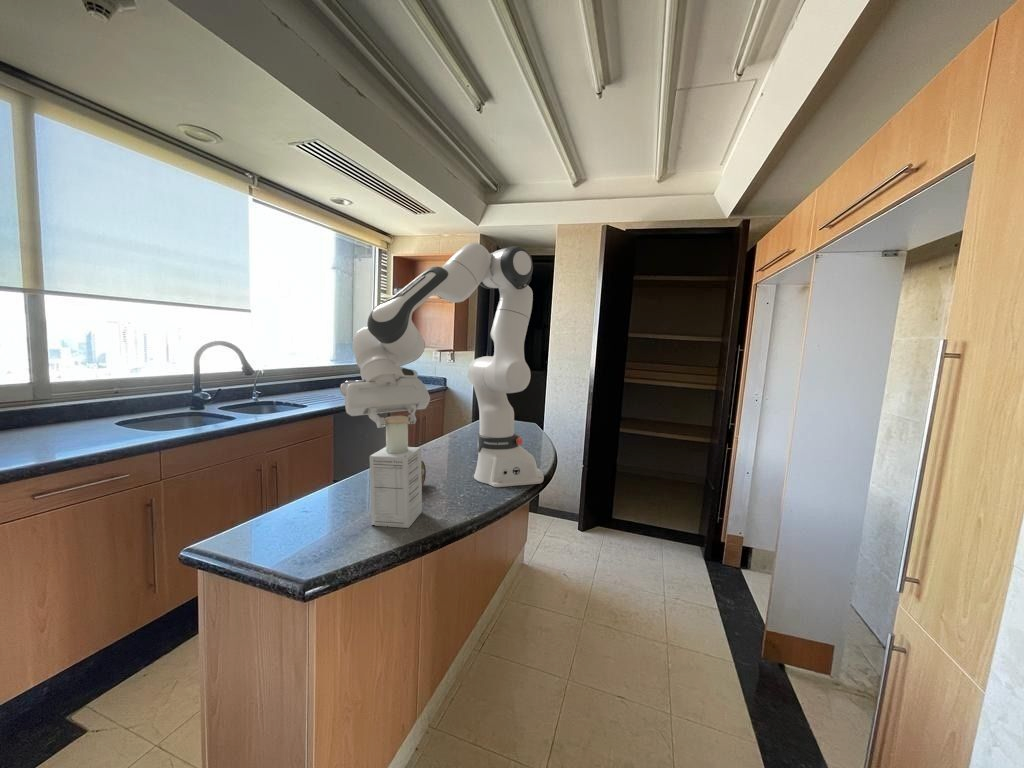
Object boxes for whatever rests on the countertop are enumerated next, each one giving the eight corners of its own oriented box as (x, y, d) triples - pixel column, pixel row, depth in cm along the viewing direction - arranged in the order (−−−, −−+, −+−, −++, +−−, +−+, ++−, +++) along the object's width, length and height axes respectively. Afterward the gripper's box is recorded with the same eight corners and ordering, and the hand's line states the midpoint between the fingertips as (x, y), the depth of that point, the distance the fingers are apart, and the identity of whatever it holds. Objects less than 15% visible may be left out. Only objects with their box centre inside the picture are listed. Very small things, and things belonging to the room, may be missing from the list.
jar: (410, 447, 93) (410, 415, 93) (406, 453, 88) (406, 420, 87) (388, 447, 93) (388, 415, 92) (382, 454, 88) (382, 419, 87)
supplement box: (423, 511, 96) (423, 446, 94) (409, 528, 87) (408, 457, 85) (387, 509, 97) (386, 445, 96) (369, 525, 88) (368, 455, 86)
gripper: (340, 372, 87) (355, 421, 81) (422, 370, 100) (440, 412, 94) (335, 390, 91) (349, 437, 85) (415, 385, 104) (431, 426, 98)
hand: (397, 424), depth 89 cm, fingers open, 6 cm apart
